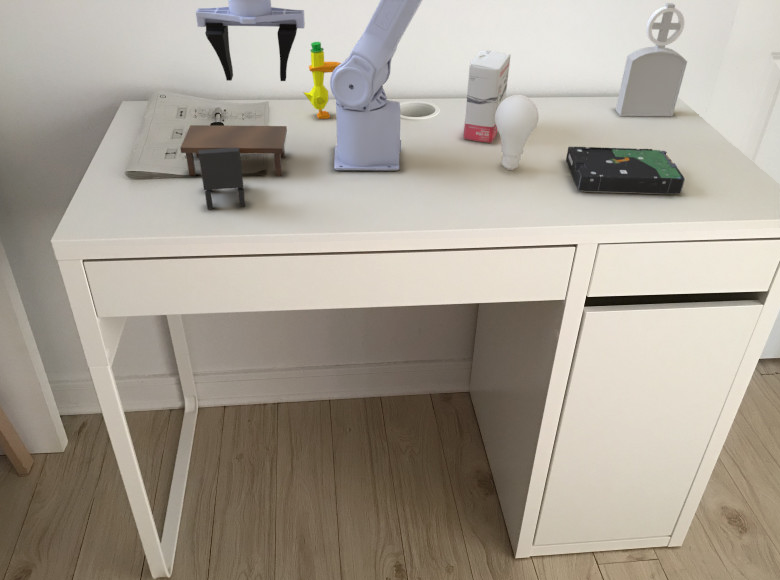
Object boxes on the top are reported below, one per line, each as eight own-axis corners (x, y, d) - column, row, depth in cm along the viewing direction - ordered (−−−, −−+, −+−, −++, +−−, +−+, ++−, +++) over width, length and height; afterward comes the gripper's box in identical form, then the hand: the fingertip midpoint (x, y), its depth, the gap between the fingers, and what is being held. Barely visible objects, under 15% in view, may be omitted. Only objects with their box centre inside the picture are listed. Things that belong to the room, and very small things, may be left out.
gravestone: (615, 110, 128) (639, 1, 117) (666, 110, 128) (695, 2, 117) (620, 116, 126) (644, 5, 114) (672, 116, 126) (702, 6, 115)
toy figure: (342, 111, 123) (340, 38, 116) (346, 119, 120) (345, 44, 113) (302, 114, 122) (298, 40, 114) (306, 122, 119) (302, 47, 112)
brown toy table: (288, 154, 109) (286, 125, 106) (284, 177, 103) (282, 148, 100) (194, 153, 108) (190, 125, 105) (185, 177, 102) (180, 147, 99)
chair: (243, 187, 100) (236, 131, 95) (245, 208, 95) (239, 151, 90) (206, 189, 99) (197, 134, 94) (207, 211, 94) (198, 153, 89)
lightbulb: (506, 157, 111) (515, 85, 104) (538, 170, 107) (550, 97, 100) (480, 168, 107) (488, 95, 100) (512, 182, 104) (523, 107, 97)
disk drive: (577, 194, 102) (681, 196, 102) (581, 176, 100) (687, 177, 100) (564, 163, 110) (660, 164, 110) (567, 145, 108) (665, 147, 108)
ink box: (491, 144, 114) (500, 68, 107) (461, 139, 115) (468, 64, 108) (503, 125, 121) (512, 52, 113) (474, 120, 122) (481, 48, 114)
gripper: (186, -19, 92) (201, 87, 101) (300, -17, 93) (305, 88, 102) (195, -31, 98) (208, 70, 106) (303, -29, 99) (307, 72, 107)
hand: (256, 78), depth 104 cm, fingers open, 7 cm apart
